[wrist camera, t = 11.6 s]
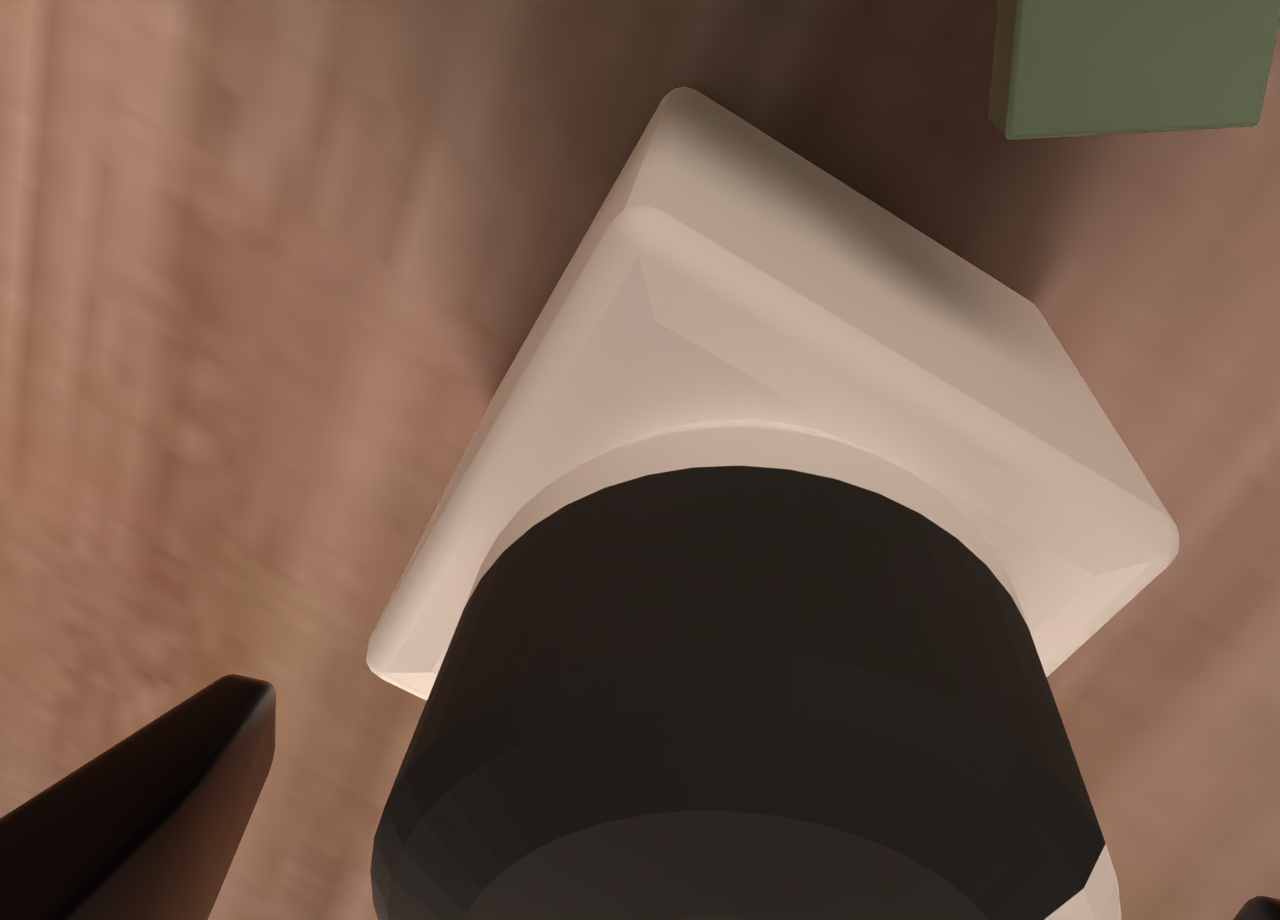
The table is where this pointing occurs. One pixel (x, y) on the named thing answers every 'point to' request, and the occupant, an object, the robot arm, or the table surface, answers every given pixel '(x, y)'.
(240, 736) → the robot arm
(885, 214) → the medicine bottle
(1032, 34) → the cooking pot
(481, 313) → the table surface
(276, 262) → the table surface
